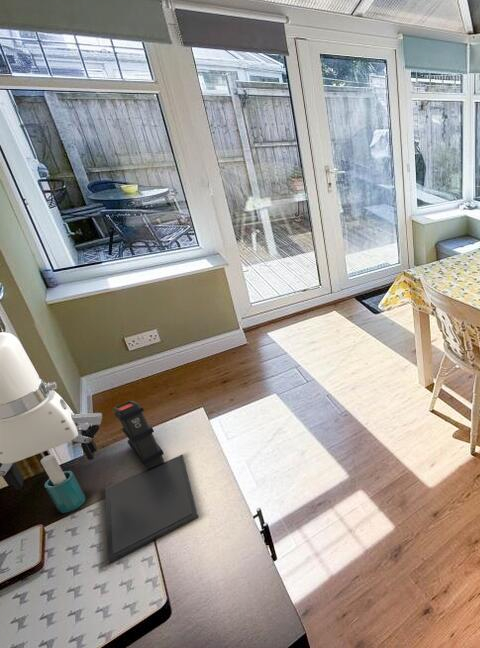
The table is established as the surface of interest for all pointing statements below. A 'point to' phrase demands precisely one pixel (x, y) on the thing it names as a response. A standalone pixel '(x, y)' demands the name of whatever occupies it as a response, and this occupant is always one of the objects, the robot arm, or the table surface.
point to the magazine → (139, 434)
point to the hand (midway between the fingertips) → (57, 469)
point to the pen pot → (66, 493)
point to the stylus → (53, 470)
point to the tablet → (148, 507)
